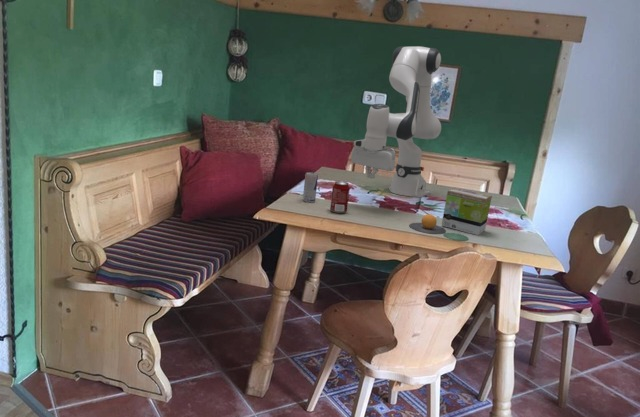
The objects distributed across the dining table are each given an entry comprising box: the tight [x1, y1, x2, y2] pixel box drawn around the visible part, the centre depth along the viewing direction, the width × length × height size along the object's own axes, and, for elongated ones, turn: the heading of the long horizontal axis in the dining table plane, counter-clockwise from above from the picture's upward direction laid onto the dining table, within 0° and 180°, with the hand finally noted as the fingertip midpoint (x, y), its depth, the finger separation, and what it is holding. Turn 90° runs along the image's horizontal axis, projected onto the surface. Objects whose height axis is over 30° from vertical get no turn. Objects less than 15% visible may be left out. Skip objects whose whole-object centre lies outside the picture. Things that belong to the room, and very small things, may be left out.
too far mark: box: [443, 232, 469, 242], centre depth 192 cm, size 9×9×1 cm
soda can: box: [329, 180, 351, 214], centre depth 208 cm, size 7×7×12 cm
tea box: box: [441, 187, 493, 236], centre depth 203 cm, size 15×10×15 cm, turn 58°
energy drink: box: [302, 172, 319, 203], centre depth 221 cm, size 5×5×12 cm
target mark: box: [408, 222, 447, 235], centre depth 199 cm, size 14×14×1 cm
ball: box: [421, 213, 437, 229], centre depth 198 cm, size 6×6×6 cm
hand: (370, 177), depth 215 cm, fingers closed
